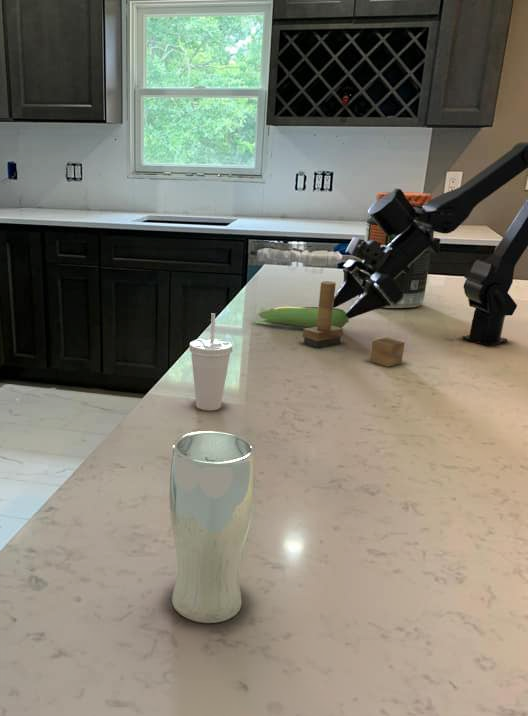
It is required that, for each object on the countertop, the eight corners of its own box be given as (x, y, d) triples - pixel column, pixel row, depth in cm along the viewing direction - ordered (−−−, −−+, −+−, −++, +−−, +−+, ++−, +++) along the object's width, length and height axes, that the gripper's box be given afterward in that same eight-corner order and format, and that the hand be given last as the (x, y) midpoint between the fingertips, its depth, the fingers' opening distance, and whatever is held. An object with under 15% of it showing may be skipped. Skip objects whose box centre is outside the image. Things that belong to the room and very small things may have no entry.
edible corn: (346, 334, 152) (348, 312, 150) (251, 326, 157) (252, 305, 155) (347, 328, 156) (350, 307, 155) (255, 321, 161) (256, 300, 160)
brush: (326, 338, 148) (333, 279, 144) (341, 343, 146) (348, 282, 141) (302, 343, 145) (307, 282, 140) (316, 348, 142) (323, 286, 137)
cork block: (384, 358, 136) (386, 337, 135) (401, 363, 133) (404, 342, 132) (369, 361, 134) (372, 340, 132) (387, 367, 131) (390, 345, 129)
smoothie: (234, 402, 112) (239, 311, 107) (223, 416, 107) (228, 321, 101) (194, 396, 114) (197, 308, 109) (181, 410, 109) (184, 317, 103)
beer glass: (164, 581, 67) (166, 430, 61) (238, 579, 68) (248, 429, 62) (170, 628, 61) (174, 465, 55) (253, 625, 61) (265, 463, 55)
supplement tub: (430, 301, 184) (447, 193, 173) (412, 313, 172) (430, 197, 161) (368, 294, 191) (381, 189, 181) (348, 304, 179) (361, 193, 169)
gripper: (358, 217, 146) (299, 273, 149) (395, 228, 129) (329, 292, 132) (390, 257, 150) (333, 311, 153) (431, 273, 133) (365, 334, 136)
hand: (339, 311), depth 143 cm, fingers open, 9 cm apart
